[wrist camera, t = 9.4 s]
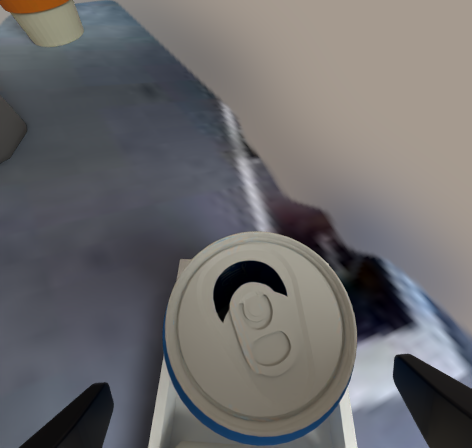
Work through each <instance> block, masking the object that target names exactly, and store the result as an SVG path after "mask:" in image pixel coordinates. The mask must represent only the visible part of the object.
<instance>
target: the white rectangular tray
mask: <svg viewBox="0 0 472 448" xmlns="http://www.w3.org/2000/svg"><path fill="white" fill-rule="evenodd" d="M191 260H192V259H180V263H179V269H178V275H177V279H178V277H179V276H180V274H181V273H182V271H183V270H184V268H185V267H186V266H187V264H188V263H189V262H190V261H191ZM327 264H328V265H329V263H327ZM181 441H193V442H208V443H223V444H238V445H248V444H242V443H239V442H236V441H233V440H229V439H227V438H225V437H223V436H221V435H219V434H217V433H215V432H213V431H212V430H211V429H209V428H208V427H206V426H205V425H204V424H202V423H201V422H200V421H199V420H198V419H197V418H196V417H195V416H194V415H193V414H192V413H191V412H190V411H189V409H188V408H187V407H186V406H185V404H184V403H183V402H182V400H181V399H180V397H179V395H178V393H177V392H176V390H175V388H174V386H173V384H172V381H171V379H170V376H169V374H168V370H167V366H166V363H165V359H164V357H163V363H162V369H161V375H160V381H159V387H158V392H157V398H156V404H155V410H154V416H153V422H152V428H151V434H150V439H149V445H148V448H175V447H176V446H177V445H178V444H179V443H180V442H181ZM253 446H255V445H253ZM268 447H283V448H357V443H356V436H355V430H354V423H353V417H352V411H351V404H350V398H349V391H348V387H347V389H346V392H345V394H344V396H343V397H342V399H341V401H340V402H339V404H338V406H337V407H336V408H335V410H334V411H333V412H332V413H331V414H330V416H329V417H328V418H327V419H326V420H325V421H324V422H323V423H321V424H320V425H319V426H318V427H317V428H316V429H314V430H312V431H311V432H309V433H308V434H306V435H304V436H303V437H300V438H298V439H295V440H293V441H290V442H287V443H282V444H278V445H270V446H268Z"/></svg>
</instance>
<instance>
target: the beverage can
mask: <svg viewBox="0 0 472 448" xmlns="http://www.w3.org/2000/svg"><path fill="white" fill-rule="evenodd" d="M356 348H357V329H356V322H355V316H354V312H353V309H352V305H351V302H350V300H349V297H348V295H347V292H346V290H345V288H344V286H343V285H342V283H341V281H340V279H339V278H338V277H337V275H336V274H335V272H334V271H333V270H332V268H331V267H330V266H329V265H328V264H327V263H326V262H325V261H324V260H323V259H322V258H321V257H320V256H319V255H318V254H317V253H315V252H314V251H312V250H311V249H310V248H308V247H307V246H305V245H303V244H302V243H300V242H298V241H296V240H293V239H291V238H289V237H286V236H283V235H279V234H275V233H269V232H258V231H257V232H243V233H237V234H234V235H230V236H227V237H224V238H222V239H220V240H217V241H215V242H214V243H212V244H210V245H208V246H207V247H206V248H204V249H203V250H202V251H200V252H199V253H198V254H197V255H196V256H195V257H194V258H193V259H192V260H191V261H190V262H189V263H188V264H187V266H186V267H185V268H184V270H183V271H182V273H181V274H180V276H179V277H178V279H177V281H176V283H175V285H174V287H173V290H172V293H171V295H170V298H169V301H168V304H167V307H166V312H165V316H164V323H163V351H164V359H165V363H166V366H167V370H168V374H169V376H170V379H171V381H172V384H173V386H174V388H175V390H176V392H177V393H178V395H179V397H180V399H181V400H182V402H183V403H184V404H185V406H186V407H187V408H188V409H189V411H190V412H191V413H192V414H193V415H194V416H195V417H196V418H197V419H198V420H199V421H200V422H201V423H202V424H204V425H205V426H206V427H208V428H209V429H211V430H212V431H213V432H215V433H217V434H219V435H221V436H223V437H225V438H227V439H229V440H233V441H236V442H239V443H242V444H248V445H255V446H270V445H278V444H282V443H287V442H290V441H293V440H295V439H298V438H300V437H303V436H304V435H306V434H308V433H309V432H311V431H312V430H314V429H316V428H317V427H318V426H319V425H320V424H321V423H323V422H324V421H325V420H326V419H327V418H328V417H329V416H330V414H331V413H332V412H333V411H334V410H335V408H336V407H337V406H338V404H339V402H340V401H341V399H342V397H343V396H344V394H345V392H346V389H347V387H348V384H349V382H350V379H351V375H352V371H353V367H354V362H355V357H356Z"/></svg>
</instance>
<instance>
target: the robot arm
mask: <svg viewBox="0 0 472 448" xmlns="http://www.w3.org/2000/svg"><path fill="white" fill-rule="evenodd" d="M393 379H394V383H395V385H396V387H397V389H398V391H399V393H400V394H401V396H402V398H403V400H404V402H405V404H406V406H407V408H408V409H409V411H410V413H411V415H412V417H413V419H414V421H415V422H416V424H417V426H418V428H419V430H420V432H421V434H422V435H423V437H424V439H425V441H426V442H427V444H428V446H429V447H430V448H472V389H471V388H469V387H468V386H466V385H464V384H462V383H460V382H459V381H457V380H455V379H453V378H452V377H450V376H448V375H446V374H445V373H443V372H441V371H439V370H438V369H436V368H434V367H432V366H430V365H429V364H427V363H425V362H423V361H422V360H420V359H418V358H416V357H415V356H413V355H411V354H400V355H396V356H395V358H394V368H393ZM113 408H114V403H113V398H112V395H111V391H110V387H109V385H108V383H106V382H104V383H95V384H92V385H91V386H90V387H89V388H87V389H86V390H85V391H84V392H83V393H82V394H81V395H79V396H78V397H77V398H76V399H75V400H74V401H72V402H71V403H70V404H69V405H68V406H67V407H65V408H64V409H63V410H62V411H61V412H60V413H58V414H57V415H56V416H55V417H54V418H53V419H52V420H50V421H49V422H48V423H47V424H46V425H45V426H43V427H42V428H41V429H40V430H39V431H38V432H36V433H35V434H34V435H33V436H32V437H31V438H29V439H28V440H27V441H26V442H25V443H24V444H23V445H21V446H20V447H19V448H102V446H103V442H104V439H105V436H106V432H107V429H108V426H109V423H110V419H111V416H112V413H113Z"/></svg>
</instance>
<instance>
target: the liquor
mask: <svg viewBox="0 0 472 448" xmlns="http://www.w3.org/2000/svg"><path fill="white" fill-rule="evenodd" d="M26 132H27V128H26V123H25V122H24V121H23V120H22V119H21V118H20V117H19V115H18V114H17V113H16V112H15V111H14V110H13V109H12V108H11V107H10V105H9V104H8V103H7V102H6V101H5V100H4V99H3V98H2V96H1V95H0V163H2V162H4V161H5V160H7V159H9V158H10V157H11V156H12V154H13V153H14V151H15V149H16V148H17V146H18V145H19V143H20V142H21V140H22V138H23V137H24V135H25V134H26Z"/></svg>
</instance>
